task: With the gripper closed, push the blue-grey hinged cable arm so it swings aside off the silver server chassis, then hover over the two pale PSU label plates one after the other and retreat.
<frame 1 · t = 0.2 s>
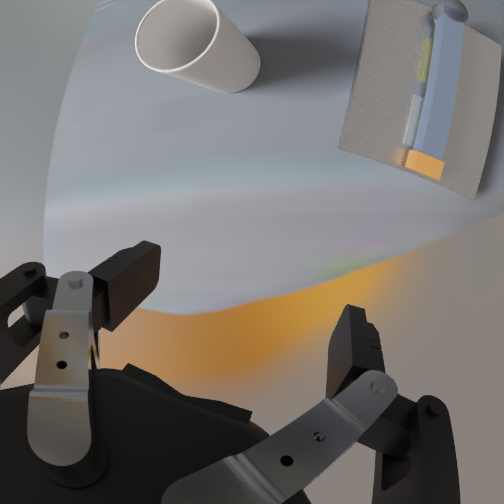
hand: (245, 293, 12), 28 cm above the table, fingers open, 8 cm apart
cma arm: (443, 78, 22), point 8 cm above the table, hinge at 0.0°
cup: (230, 65, 34), on the table
chassis: (421, 92, 29), on the table
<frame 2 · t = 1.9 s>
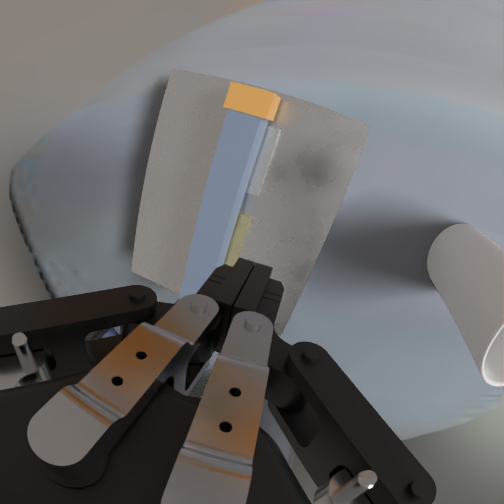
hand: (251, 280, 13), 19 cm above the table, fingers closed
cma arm: (216, 222, 24), point 8 cm above the table, hinge at 0.0°
cup: (457, 257, 28), on the table
chassis: (242, 196, 31), on the table
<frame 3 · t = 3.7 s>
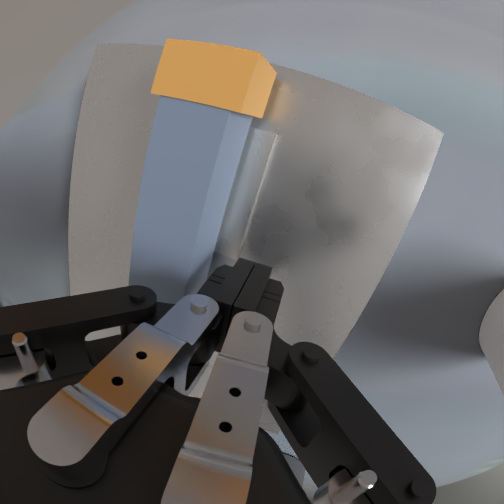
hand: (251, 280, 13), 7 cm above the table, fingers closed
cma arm: (165, 308, 14), point 7 cm above the table, hinge at 0.0°, touching gripper
chassis: (219, 241, 20), on the table
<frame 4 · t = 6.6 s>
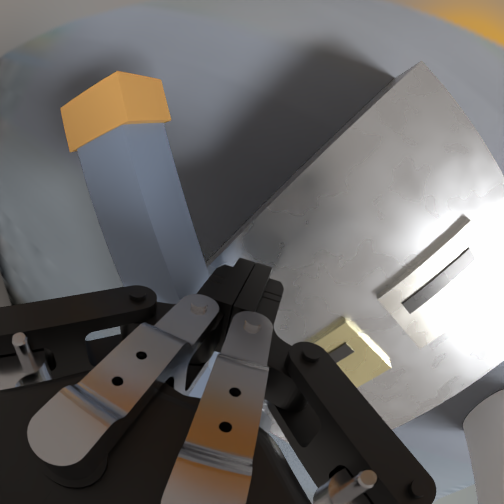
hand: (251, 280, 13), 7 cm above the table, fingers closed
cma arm: (187, 326, 14), point 7 cm above the table, hinge at 57.1°, touching gripper
cup: (492, 410, 21), on the table
chassis: (361, 295, 19), on the table
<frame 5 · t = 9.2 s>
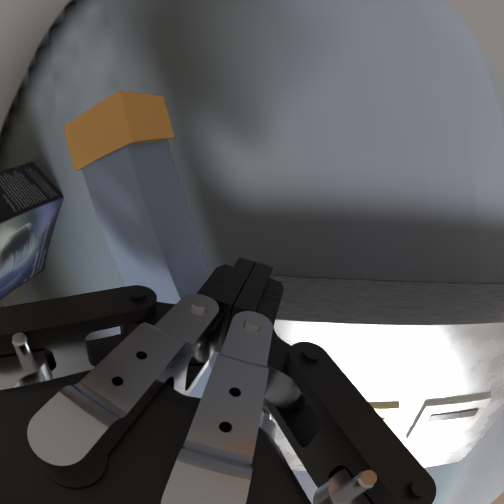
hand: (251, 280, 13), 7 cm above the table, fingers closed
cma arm: (194, 339, 14), point 8 cm above the table, hinge at 103.1°, touching gripper
small box: (37, 219, 24), on the table
chassis: (384, 376, 21), on the table
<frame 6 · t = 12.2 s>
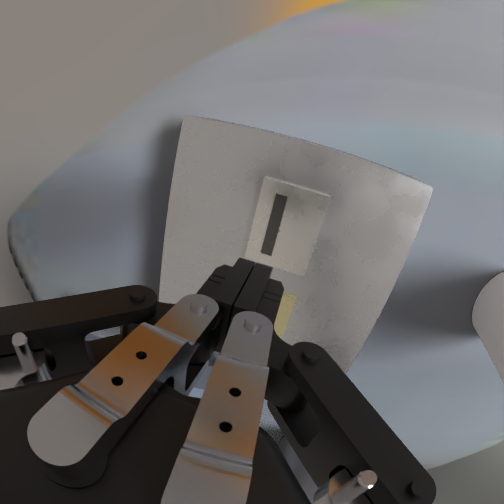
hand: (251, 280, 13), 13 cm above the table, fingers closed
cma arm: (144, 370, 27), point 7 cm above the table, hinge at 103.7°
cup: (500, 303, 23), on the table
chassis: (278, 261, 27), on the table
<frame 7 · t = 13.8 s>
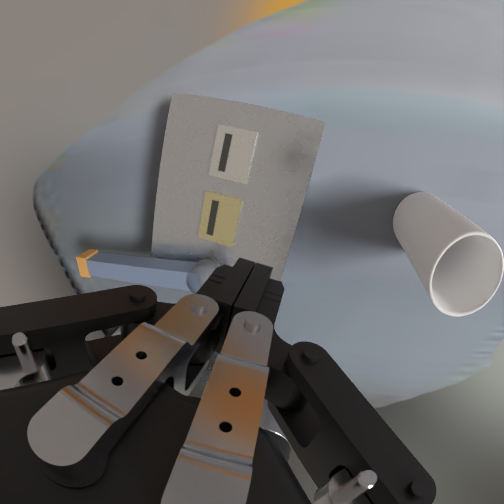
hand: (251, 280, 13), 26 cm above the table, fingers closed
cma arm: (141, 269, 39), point 8 cm above the table, hinge at 103.7°
cup: (420, 221, 35), on the table
chassis: (236, 187, 39), on the table
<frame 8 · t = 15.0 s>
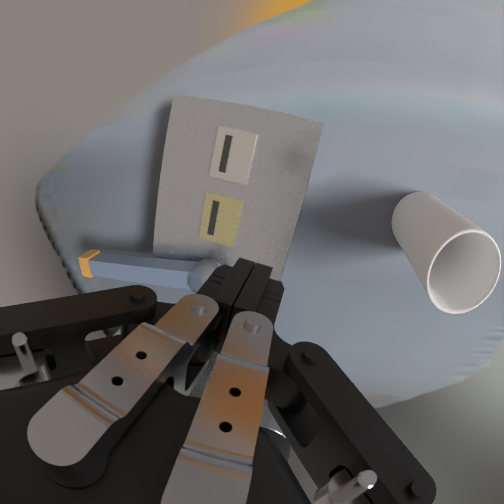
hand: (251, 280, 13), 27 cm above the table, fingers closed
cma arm: (142, 269, 39), point 8 cm above the table, hinge at 103.7°
cup: (418, 221, 35), on the table
chassis: (236, 188, 39), on the table
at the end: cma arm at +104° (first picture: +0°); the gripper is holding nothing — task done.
